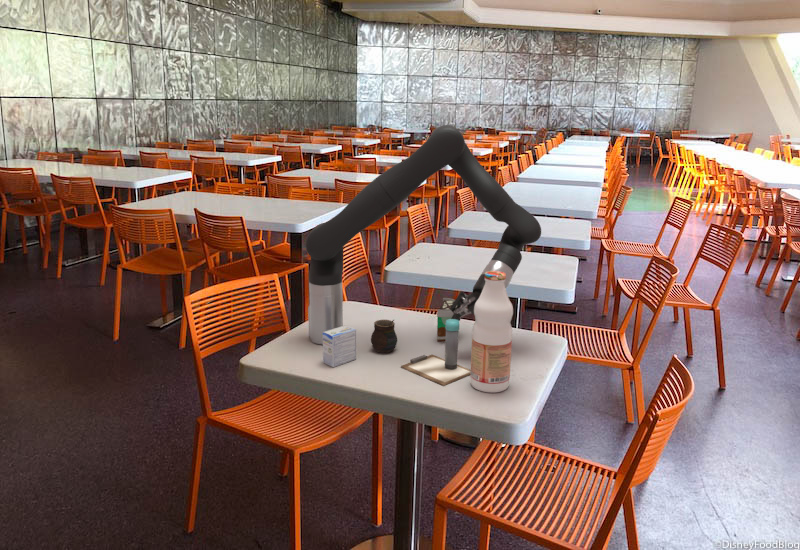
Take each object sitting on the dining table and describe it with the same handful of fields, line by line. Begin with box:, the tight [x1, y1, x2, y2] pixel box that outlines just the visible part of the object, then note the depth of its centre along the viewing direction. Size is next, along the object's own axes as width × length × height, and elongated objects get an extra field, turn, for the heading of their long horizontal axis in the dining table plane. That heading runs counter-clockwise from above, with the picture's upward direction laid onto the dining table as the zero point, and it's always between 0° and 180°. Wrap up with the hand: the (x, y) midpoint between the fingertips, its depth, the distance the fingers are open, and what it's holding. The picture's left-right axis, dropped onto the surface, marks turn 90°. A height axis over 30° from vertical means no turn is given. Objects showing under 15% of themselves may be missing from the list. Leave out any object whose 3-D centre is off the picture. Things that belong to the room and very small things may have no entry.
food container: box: [436, 297, 461, 343], centre depth 184 cm, size 12×6×10 cm, turn 168°
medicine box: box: [322, 325, 357, 368], centre depth 166 cm, size 8×4×9 cm, turn 135°
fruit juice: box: [469, 271, 514, 394], centre depth 151 cm, size 9×9×28 cm
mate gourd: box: [370, 319, 398, 354], centre depth 174 cm, size 7×8×10 cm
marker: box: [444, 319, 460, 370], centre depth 161 cm, size 3×3×12 cm
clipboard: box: [400, 354, 471, 387], centre depth 162 cm, size 15×12×1 cm
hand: (463, 332), depth 163 cm, fingers open, 8 cm apart
